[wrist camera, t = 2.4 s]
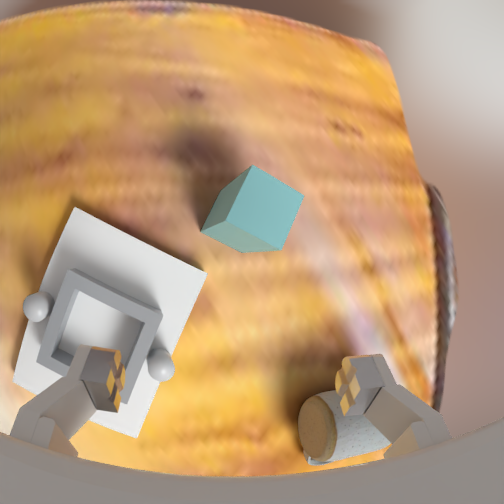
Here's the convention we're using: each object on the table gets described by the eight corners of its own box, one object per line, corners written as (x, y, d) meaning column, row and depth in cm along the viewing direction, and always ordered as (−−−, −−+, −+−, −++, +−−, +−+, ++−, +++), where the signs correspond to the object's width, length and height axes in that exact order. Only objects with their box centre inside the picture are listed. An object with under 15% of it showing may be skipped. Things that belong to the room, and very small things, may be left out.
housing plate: (138, 432, 24) (140, 454, 20) (15, 375, 20) (0, 390, 16) (207, 274, 26) (217, 276, 23) (75, 207, 23) (65, 199, 19)
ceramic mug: (296, 384, 29) (340, 416, 22) (361, 373, 32) (409, 395, 25) (286, 465, 29) (320, 505, 22) (346, 449, 32) (385, 479, 24)
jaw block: (241, 252, 27) (281, 250, 20) (200, 231, 26) (225, 220, 19) (260, 211, 28) (304, 195, 21) (220, 190, 27) (252, 164, 19)
